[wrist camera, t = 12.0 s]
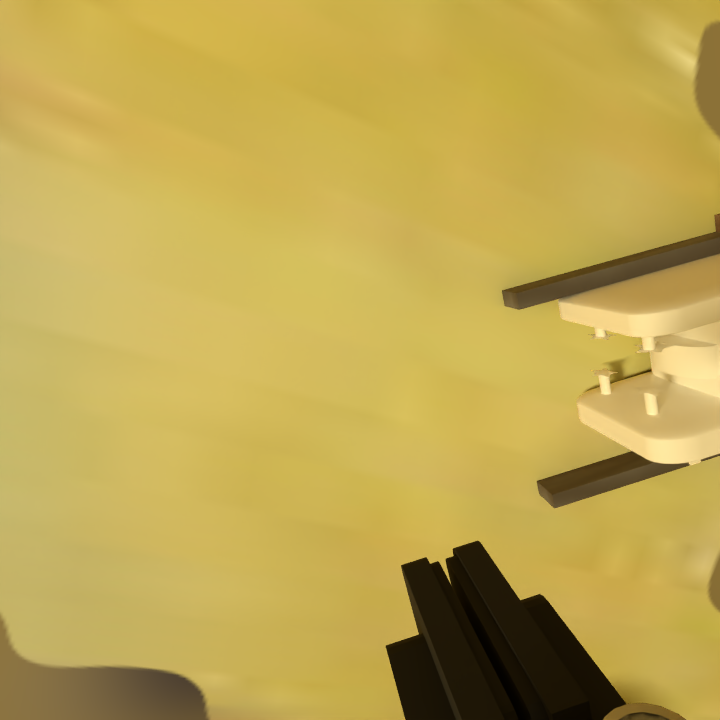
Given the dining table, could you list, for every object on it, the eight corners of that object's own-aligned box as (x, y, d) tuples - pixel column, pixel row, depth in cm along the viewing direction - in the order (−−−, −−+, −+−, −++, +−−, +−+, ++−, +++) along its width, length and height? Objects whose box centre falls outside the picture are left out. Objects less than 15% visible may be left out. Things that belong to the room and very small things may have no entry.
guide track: (498, 273, 40) (536, 278, 34) (748, 205, 42) (825, 198, 36) (541, 507, 44) (581, 546, 39) (764, 437, 46) (834, 464, 40)
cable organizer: (718, 246, 42) (880, 244, 31) (729, 370, 44) (882, 411, 33) (543, 295, 41) (646, 313, 29) (565, 421, 43) (667, 482, 32)
